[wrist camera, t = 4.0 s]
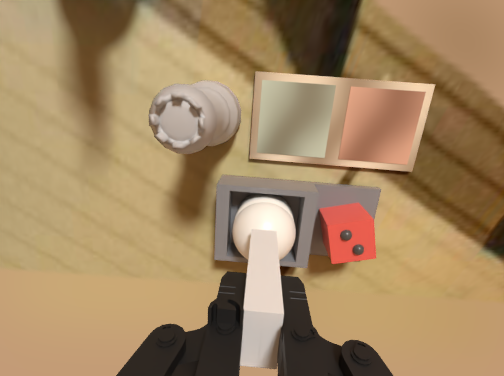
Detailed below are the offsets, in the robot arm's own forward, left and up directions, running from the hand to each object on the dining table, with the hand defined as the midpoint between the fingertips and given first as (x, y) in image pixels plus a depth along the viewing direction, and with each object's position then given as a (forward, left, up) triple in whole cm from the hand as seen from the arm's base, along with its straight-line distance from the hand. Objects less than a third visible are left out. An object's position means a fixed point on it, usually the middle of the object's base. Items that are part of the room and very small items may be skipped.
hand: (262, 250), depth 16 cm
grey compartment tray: (+2, +2, -6) cm, 6 cm away
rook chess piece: (-9, +1, -6) cm, 10 cm away
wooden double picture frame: (-3, +8, -6) cm, 10 cm away
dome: (0, 0, -5) cm, 5 cm away
